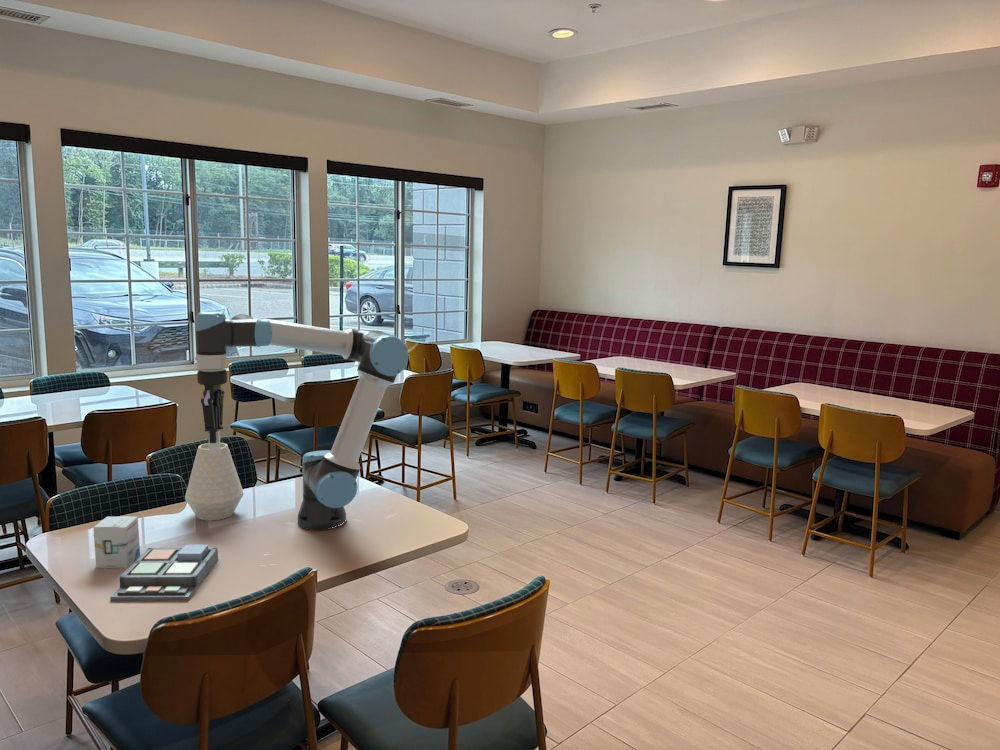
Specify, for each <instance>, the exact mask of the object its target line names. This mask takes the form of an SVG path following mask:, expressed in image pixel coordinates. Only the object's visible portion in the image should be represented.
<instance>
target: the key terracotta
mask: <svg viewBox="0 0 1000 750" xmlns="http://www.w3.org/2000/svg"><path fill="white" fill-rule="evenodd" d="M175 554H176V550H152V551H151V552H150V553H149V554H148V555H147V556H146V557H145V558H144V561H170V560H171V559H172V557H173V556H174V555H175Z"/></svg>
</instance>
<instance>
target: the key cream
mask: <svg viewBox="0 0 1000 750" xmlns="http://www.w3.org/2000/svg"><path fill="white" fill-rule="evenodd" d="M197 568H198V563H174V564H173V565H172V566H171V567H170V568H169V570H168V571H167V572H166V575H192V574H193V573H194V572H195V571H196V569H197Z"/></svg>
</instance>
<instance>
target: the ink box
mask: <svg viewBox="0 0 1000 750" xmlns="http://www.w3.org/2000/svg"><path fill="white" fill-rule="evenodd" d="M139 531H140V530H139V517H138V516H137V515H135V516H130V515H128V516H121V515H120V516H106V517H105V518H103V519H102V520H101V521H99V522H98V523H97V524H96V525H95V526H93V541H94V554H95V555H94V556H95V568H96V569H128V568H129V567H130V566H131V565H132V564H133V563H134V562H135V561H136V560H137V559H138V558H139V557H140V556H141V549H140V548H141V547H140V546H141V545H140V533H139Z"/></svg>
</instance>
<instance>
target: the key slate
mask: <svg viewBox="0 0 1000 750" xmlns="http://www.w3.org/2000/svg"><path fill="white" fill-rule="evenodd" d="M181 548H182V549H181V550H180V552H179V553H178V561H203V560H204V558H205V557H206V556H207V555H208V548H209V544H185V545H184V546H182V547H181Z"/></svg>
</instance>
